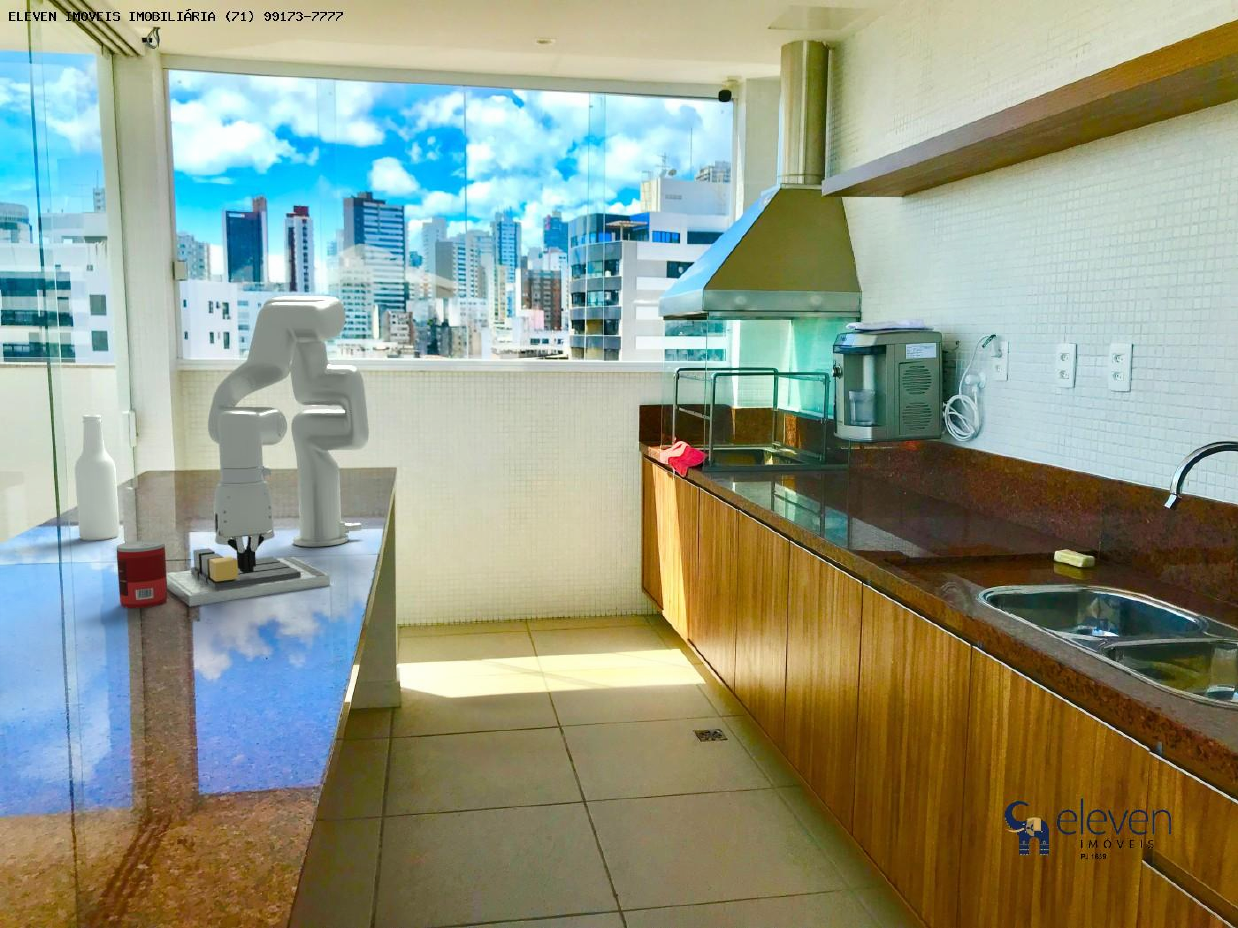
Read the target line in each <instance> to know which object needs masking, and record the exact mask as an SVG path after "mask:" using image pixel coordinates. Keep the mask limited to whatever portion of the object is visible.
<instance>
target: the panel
mask: <svg viewBox="0 0 1238 928" xmlns="http://www.w3.org/2000/svg"><path fill="white" fill-rule="evenodd" d="M192 551H193V553H192V554H193V566H192V567H190V570H185V571H184V570H183V571H177V572H175V571H172V572H166V574H167V590H169V591H170V592H172V594H174V595H176V597H178V599H180V600H181V601H182V602H184V603H185V604H186V605H187V606H188V607H196V606H202V605H208V604H209V605H210V604H214V603H220V602H227V601H235V600H242V599H248V598H253V597H261V596H267V595H275V594H279V593H287V592H292V591H295V592H296V591H301V590H307V589H312V588H314V589H315V588H320V587H325V586H327V587H328V586H331V578H330V577H331V576H330V574H328V573H326V572H324V571H322V570H320V569H318V568H316V567H314V566H313V565H310V564H308V563H306V562H304V561H302V560H301V559H299V558H296V557H294V556H287V557H286V556H285V557H282V558H275V557H273V556H271V557H263V558H262V557H261V558H256V566H255V567H253V568H254V572H252V573H250V572H248V573H243V572H241V571H240V569H238V579H231V580H224V581H214V580H213V579H212V578H210V566H209V559H216V558H224V556H223V555H221V554H219V553H216V552H215V551H214V550H213V549H211V548H209V547H208V548H201V549H194V550H193V549H192Z"/></svg>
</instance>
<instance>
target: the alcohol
mask: <svg viewBox="0 0 1238 928" xmlns="http://www.w3.org/2000/svg"><path fill="white" fill-rule="evenodd" d="M82 419H83V420H82V424H83V441H82V442H83V445H82V449H83V450H82V453H81V455H80V456H79V457H78V459H77V460H76V462H75V466H74V475H75V489H76V491H75V493H76V505H77V507H76V508H77V521H78V533H79V534H78V537H80V538H81V539H82V540H83V541H95V542H96V541H104V540H105V541H106V540H111V539H110V538H112V539H114V538H115V537H116V538H117V537H118V536H119V535H120V533H121V530H120V515H119V513H120V512H119V499H118V484H117V470H116V469H117V468H116V464H115V460H114V459H113V458H112V457H111V456H110V454H108V452H107V450H106V446H105V441H104V435H103V428H102V416H101V414H85V415H83V416H82ZM116 538H115V539H116Z"/></svg>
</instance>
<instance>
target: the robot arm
mask: <svg viewBox="0 0 1238 928" xmlns="http://www.w3.org/2000/svg"><path fill="white" fill-rule="evenodd" d="M345 324H346V311H345V307H344V305H343V303H342V302H341V300H340V299H338V298H337V297H333V296H276V297H272V298H269V299H268V300H266V301H265V302H264V303H263V306H262V307H261V308H260V310H259V312H258V314H257V318H256V321H255V326H254V329H253V334H252V338H251V342H250V345H249V350H248V355H247V358H246V360H245V361H244V362H243V363H242V364H240V365H239V366H238V367H236V368H235V369H234V370H232V371H231V373H229V374H228V375H227V376H226V377H225V378H224V379H223V380H222V381H221V382H220V384H219V385H218V386H217V388H216V390H215V392H214V395H213V397H212V402H211V406H210V409H209V414H208V418H207V419H208V420H207V421H208V422H207V429H208V430H207V432H208V434H209V437H210V438H211V440H212V441H213V442H214V443H216V444H218V446H219V447H218V449H219V467H220V468H219V469H220V483H217V484H216V485H215V486H216V487H215V489H214V490H215V492H214V502H213V530H214V533H215V538H214V542H215V544H218V545H222V546H229V547H230V548H232V549H233V550H234V551H236V560H237V563H238V569H240V571H241V572H243V573H248V572H250V573H252V572H254V568H253V567H255V566H256V559H257V558H256V551H257V550H258V549H259V547H260V546H261V544H262V543H263V542H265V541H268V540H270V539H273V538H275V532H274V527H275V523H274V522H275V518H274V511H273V510H274V509H273V503H272V496H271V492H270V489H269V488H270V487H269V485H268V482H267V481H266V480H265V479H266V478H265V477H267V476H269V475H272V470H271V468H270V467H265V465H264V463H263V446H274V445H277V444H279V443H280V442H281V441H283V439H284V438H285V436H286V434H287V430H288V422H287V419H286V416H285V415H284V413H283V412H282V411H280V409H278V408H276V407H271V406H270V407H269V406H237V405H238V403H239V402H240V401H241V400H243V399H244V398H245V397H247V396H248V395H250V394H253V393H255V392H257V391H259V390H263V389H265V388H267V387H270V386H273V385H274V384H277V383H279V382H281V381H283V380H284V379H286V378H287V377H288V376H289V374H290V378H291V386H292V392H293V395H294V399H295V400H296V402H297V403H298V404H300V405H302V406H305V407H306V406H307V407H308V406H309V407H341V408H342V409H305V410H303V411H300V412H298V413H297V414H295V415H294V417H292V420H291V425H290V426H291V427H290V428H291V436H292V439H293V440H292V442H293V446H294V450H295V457H296V468H297V469H296V470H297V472H296V473H297V493H298V494H297V495H298V512H299V513H298V516H299V518H298V519H299V535H298V536H295V537H294V538H293V539H292V540H293V543H292V544H294V545H296V546H300V547H307V548H308V547H309V548H311V547H312V548H313V547H330V546H338V545H341V544H344V543H347V542H348V541H349V535H348V534H349V532H359V531H361V530H362V524H361V522H353V523H352V522H345V521H342V514H341V513H342V510H341V509H342V508H341V484H340V483H341V482H340V481H341V479H340V477H341V475H340V467H339V464H338V463H337V461H336V460H335V458H334V456H332V454H331V453H330V452H329V451H355V450H361V449H363V448H365V447H366V446H367V444H368V442H369V441H368V440H369V434H370V431H369V429H370V428H369V417H368V408H367V400H366V390H365V383H364V379H363V376H362V373H361V372H360V370H359V369H358V368H357V367H356V366H353V365H349V364H331V363H330V362H329V359H328V353H327V345H326V342H329V341H330V340H332V339H334V338H335V337H337V336H339V335H340V334H341V332H342V331H343V330H344V328H345ZM243 537H247V539H246V541H247V542H246V547H245V544H244V540H243V539H244V538H243Z"/></svg>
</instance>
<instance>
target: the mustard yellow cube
mask: <svg viewBox="0 0 1238 928" xmlns="http://www.w3.org/2000/svg"><path fill="white" fill-rule="evenodd" d="M209 566H210V578H212V579H213V580H214V581H224V580H231V579H238V563H237V558H235V557H233V556H225V557H224V556H223V558H216V559H209Z"/></svg>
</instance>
